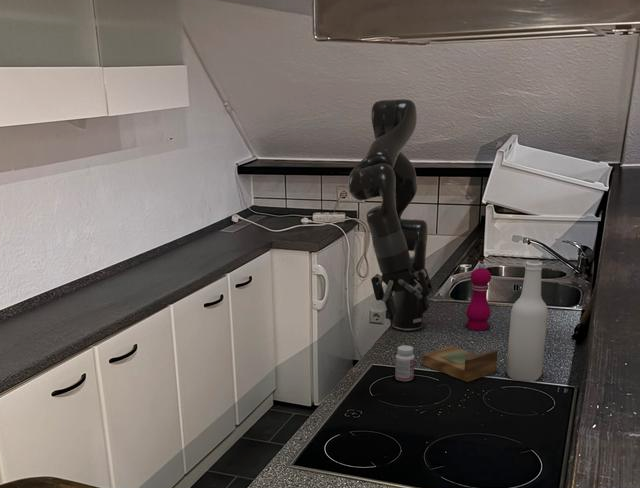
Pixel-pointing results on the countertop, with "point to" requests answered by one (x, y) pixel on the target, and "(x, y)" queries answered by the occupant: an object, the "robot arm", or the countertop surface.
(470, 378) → the wooden box
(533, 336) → the alcohol
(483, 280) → the pepper mill
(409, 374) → the pill bottle
